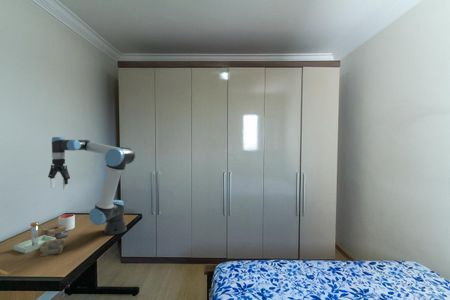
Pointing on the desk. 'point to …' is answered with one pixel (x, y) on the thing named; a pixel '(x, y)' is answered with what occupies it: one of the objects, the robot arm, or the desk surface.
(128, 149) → the robot arm
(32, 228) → the lock pin
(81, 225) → the desk surface
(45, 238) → the tray
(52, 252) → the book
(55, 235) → the block
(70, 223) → the cup
